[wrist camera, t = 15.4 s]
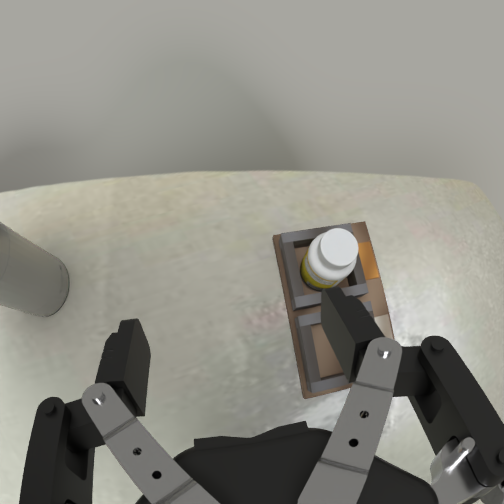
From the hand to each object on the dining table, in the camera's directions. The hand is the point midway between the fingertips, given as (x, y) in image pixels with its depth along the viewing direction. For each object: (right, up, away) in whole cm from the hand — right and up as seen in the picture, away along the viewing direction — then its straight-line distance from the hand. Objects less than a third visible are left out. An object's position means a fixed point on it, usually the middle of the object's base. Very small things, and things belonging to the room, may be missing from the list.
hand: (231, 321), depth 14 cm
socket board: (+12, -4, +27) cm, 29 cm away
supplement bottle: (+9, 0, +27) cm, 29 cm away
